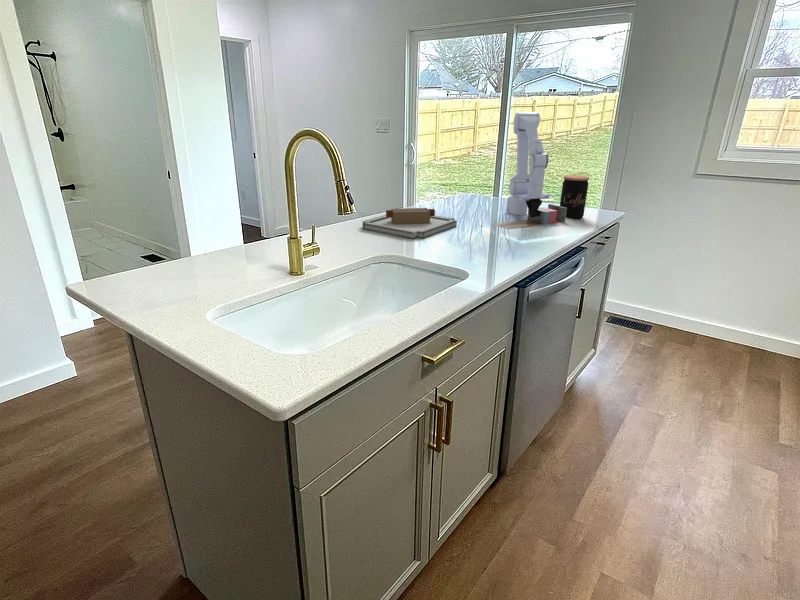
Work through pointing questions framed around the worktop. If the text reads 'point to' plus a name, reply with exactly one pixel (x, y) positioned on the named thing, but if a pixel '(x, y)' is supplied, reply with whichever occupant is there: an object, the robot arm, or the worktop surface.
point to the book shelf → (526, 223)
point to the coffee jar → (574, 195)
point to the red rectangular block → (551, 214)
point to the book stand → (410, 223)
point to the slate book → (546, 216)
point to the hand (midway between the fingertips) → (532, 217)
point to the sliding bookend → (537, 217)
